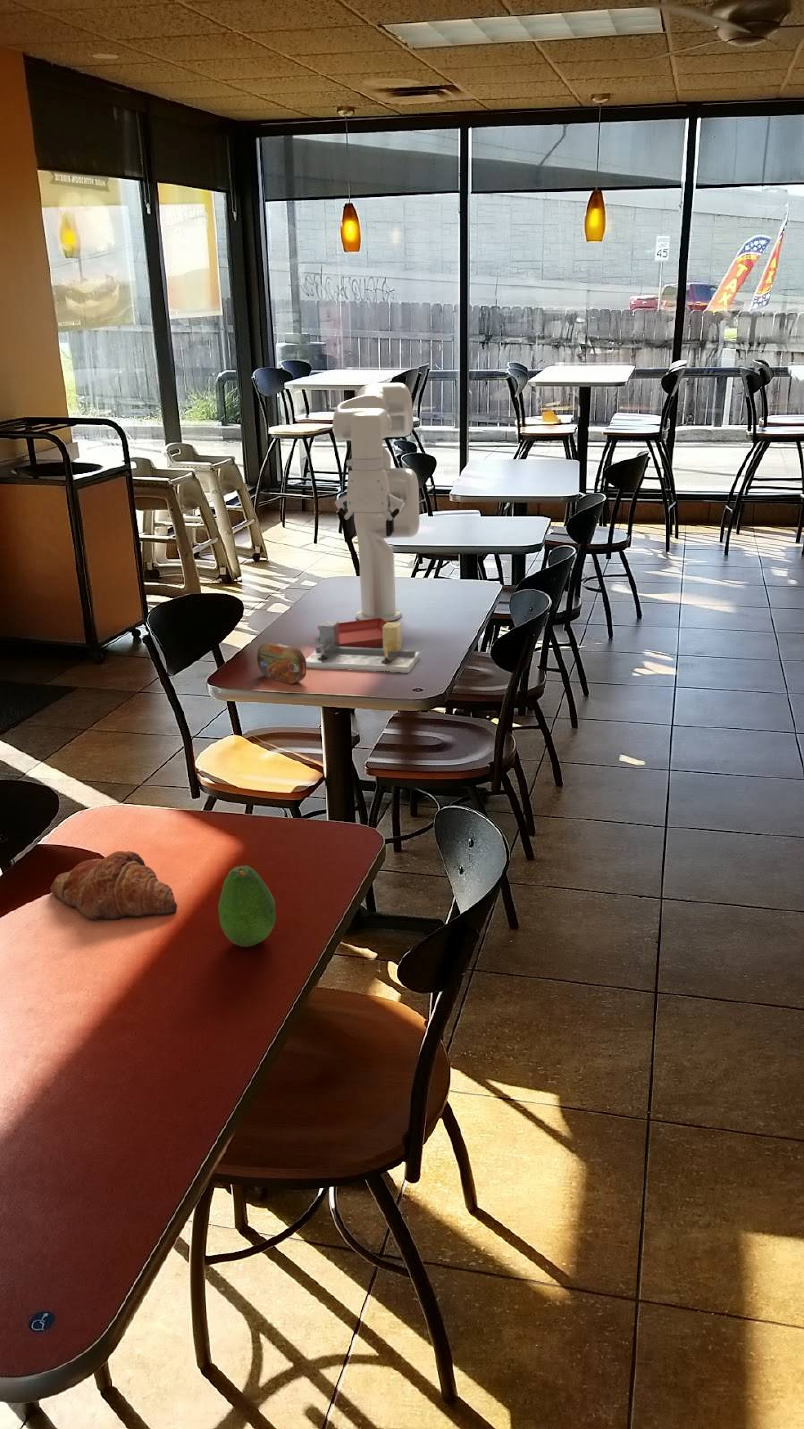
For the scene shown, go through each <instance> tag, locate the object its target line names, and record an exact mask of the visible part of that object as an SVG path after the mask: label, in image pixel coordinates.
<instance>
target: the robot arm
mask: <svg viewBox="0 0 804 1429" xmlns="http://www.w3.org/2000/svg"><path fill="white" fill-rule="evenodd" d="M413 428H414V411H413V400H412V394H411V392H410V389H409V388H408V386H407V385H406V384H404V383H402V382H378V383H377V382H375V383H368V384H365V385H363V386H362V387H361V388H360V389H359V390H358V391H357V394H356V397H352V398H351V399H348V400H345V401H342V402H340V403H339V404H337V406H336V407H335V410H334V413H333V418H332V430H333V434H334V436H335V437H336V438H337V439H338V440H340V441H350V444H351V445H350V446H351V447H350V448H351V449H350V450H351V458H350V459H347V460H346V463H345V464H346V466H349V467H350V468H351V469H352V470H349V471H348V476H347V486H346V490H347V491H346V495H344V496H342V497H339V498H338V499H336V500H335V501H334V504H335V507H336V508H337V509H338V512H339V513H340V515H342V516H343V519H345V523H346V524H345V525H346V532H348V536H349V537H350V536H351V537H352V536H353V535H355V533H356V537H357V545H358V558H359V560H358V561H359V563H358V564H359V582H360V583H359V584H360V605H361V606H360V607H361V609H360V610H357V611H356V613H355V618H356V619H357V620H358V621H359V620H367V619H374V618H382V619H384V620H385V621H386V622H392V621H395V620H398V619H400V618H401V617H402V611H401V610H400V609H398V608H397V607H396V602H397V601H396V576H395V572H396V571H395V554H394V551H393V549H392V548H391V547H392V546H390V545H389V544H388V543H387V542H386V540H385V539H392V538H395V539H396V538H398V539H399V538H411V537H414V536H416V535H417V534H418V532H419V529H420V493H419V492H420V489H419V488H420V487H419V481H418V476H417V474H416V472H415V471H414V470H413V469H411V468H408V467H407V468H406V467H392V463H391V462H392V461H391V460H392V458H391V454H390V452H389V451H388V450H387V449H386V447H385V446H384V444H383V440H384V439H386V438H401V437H402V438H403V437H408V436H409V435H410V434H411V433H412V431H413ZM344 502H346V508H345V507H344V504H343V503H344Z"/></svg>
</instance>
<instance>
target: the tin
mask: <svg viewBox="0 0 804 1429" xmlns="http://www.w3.org/2000/svg"><path fill="white" fill-rule="evenodd" d="M306 659H307V658H306V657H305V655H304V654H303V652H302V650H300V649H298V648H296V647H294V646H289V645H285V644H281V643H277V642H269V643H268V642H267V643H262V645H261V644H260V646H259V648H258V651H257V654H256V661H257V665H258V669H259V671H260V672H261V673H262V675H263V676H264V677H265V678H268V679H271V680H274V681H278V682H282V683H284V684H288V685H293V684H295V683H298V682H299V683H300V682H302V681H303V680H304V679H305V677H306V674H307V668H306Z"/></svg>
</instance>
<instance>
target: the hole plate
mask: <svg viewBox="0 0 804 1429" xmlns="http://www.w3.org/2000/svg"><path fill="white" fill-rule="evenodd" d="M339 623H340V621H338V620H337V621H336V620H335V621H334V620H324V621H323V622H321V623H320V624H319V625H318V626H319V629H318V631H319V632H318V633H319V644H318V645H316V646H315V650H314V651H313V652H311V654H310V655H309V656H308V657H307V658H305V659H306V669H319V670H320V669H322V670H337V669H351V670H350V671H357V670H365V671H364V672H376V671H384V672H383V673H395V672H401V673H400V674H409V673H410V672H411V671H412V668H414V666H415V665H416V664H417V663H418V661H419V660H420V659H421V655H420V654H421V652H420V651H416V649H403V648H402V649H401V648H400V650H399V651H398V652H393V651H389V652H388V660H387V661H386V660H385V652H384V651H383V647H374V648H362V647H341V646H339V645H340V640H339ZM415 663H416V664H415ZM385 671H387V672H385ZM388 671H390V672H388Z"/></svg>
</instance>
